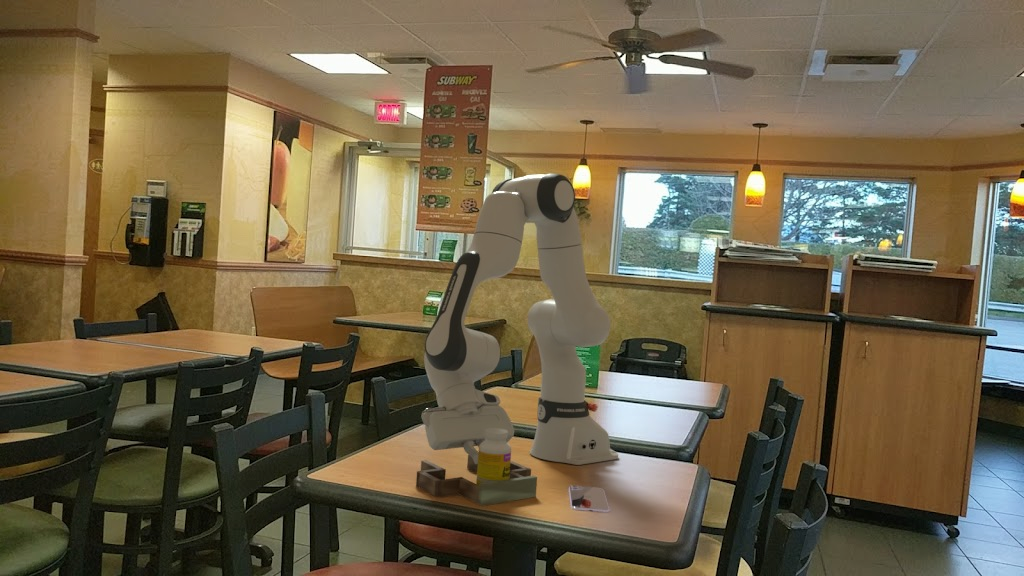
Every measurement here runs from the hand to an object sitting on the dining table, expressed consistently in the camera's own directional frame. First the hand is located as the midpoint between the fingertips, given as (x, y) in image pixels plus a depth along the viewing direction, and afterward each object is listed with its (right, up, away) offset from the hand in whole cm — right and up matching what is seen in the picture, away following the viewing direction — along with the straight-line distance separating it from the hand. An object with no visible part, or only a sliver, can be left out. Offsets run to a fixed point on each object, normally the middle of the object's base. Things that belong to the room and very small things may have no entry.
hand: (482, 462), depth 150 cm
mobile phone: (+21, -8, -3) cm, 23 cm away
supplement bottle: (+2, -6, -3) cm, 7 cm away
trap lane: (-1, -5, +2) cm, 6 cm away
